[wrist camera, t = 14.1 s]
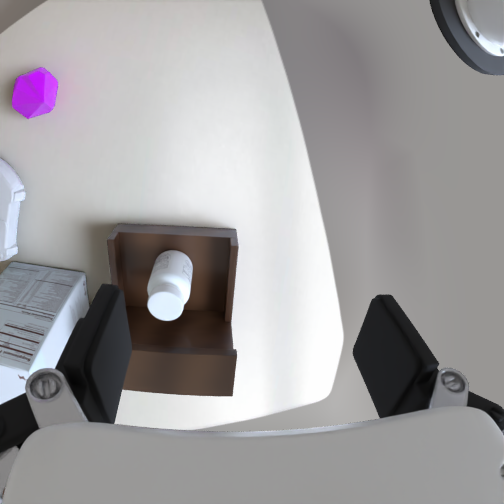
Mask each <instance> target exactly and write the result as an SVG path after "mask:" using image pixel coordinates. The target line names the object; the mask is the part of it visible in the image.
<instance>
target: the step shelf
mask: <svg viewBox="0 0 504 504" xmlns="http://www.w3.org/2000/svg"><path fill="white" fill-rule="evenodd" d="M107 245H108V255H109V264H110V273H111V280H112V285H117V286H118V288H119V289H121V290H123V293H124V300H125V306H126V313H127V319H128V325H129V331H130V337H131V342H132V353H131V357H130V361H129V365H128V368H127V372H126V376H125V380H124V384H123V388H122V389H123V390H132V391H141V392H152V393H164V394H178V395H197V396H233V387H234V378H235V369H236V360H237V351H236V349H233V338H232V326H231V319H232V308H233V298H234V287H235V277H236V267H237V256H238V240H237V232H236V229H221V228H203V227H184V226H163V225H141V224H118V225H117V226H116V227H115V229H114V230H113V232H112V233H111V235H110V236H109V237H108V239H107ZM169 250H176V251H180V252H182V253H184V254H185V255H187V256H188V257H189V259H190V260H191V263H192V266H193V271H192V280H191V288H190V296H189V299H188V301H187V302H186V303H185V304H184V307H183V311H182V314H181V315H180V316H179V317H178V318H176V319H174V320H171V321H164V320H160V319H158V318H156V317H154V316H153V315H152V314H151V313H150V311H149V309H148V306H147V303H148V298H149V295H148V291H147V287H148V283H149V279H150V276H151V273H152V270H153V267H154V264H155V261H156V259H157V257H158V256H159V255H160V254H161V253H163V252H165V251H169Z"/></svg>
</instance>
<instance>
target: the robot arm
mask: <svg viewBox="0 0 504 504" xmlns="http://www.w3.org/2000/svg"><path fill="white" fill-rule="evenodd" d="M455 5H456V8H457V12H458V15H459V17H460V20H461V22H462V24H463V26H464V28H465V29H466V31H467V32H468V34H469V36H470V37H471V38H472V39H473V41H474V42H475V43H476V44H477V45H478V46H479V47H480V48H481V49H482V50H484V51H485V52H486V53H488V54H490V55H494V56H504V0H455ZM131 353H132V342H131V337H130V331H129V325H128V319H127V313H126V306H125V300H124V293H123V290H121V289H119V288H118V286H117V285H109V284H102V285H101V287H100V289H99V290H98V292H97V294H96V296H95V298H94V300H93V302H92V304H91V306H90V308H89V310H88V312H87V314H86V316H85V318H82V317H81V318H79V320H78V321H77V323H76V325H75V327H74V329H73V331H72V333H71V335H70V337H69V339H68V341H67V343H66V345H65V347H64V349H63V352H62V354H61V356H60V358H59V360H58V362H57V365H56V367H55V369H53V368H43V369H39V370H37V371H35V372H33V373H32V374H31V375H30V376H29V378H28V379H27V381H26V385H25V390H26V392H25V393H23V394H21V395H19V396H17V397H15V398H13V399H11V400H8V401H6V402H4V403H2V404H0V504H504V409H502V407H501V406H499V405H498V404H496V403H493V402H491V401H489V400H487V399H485V398H483V397H480V396H478V395H476V394H474V393H472V392H470V391H469V383H468V381H467V379H466V377H465V376H464V375H463V374H462V373H461V372H459V371H457V370H456V369H453V368H444V369H441V370H440V371H439V370H438V369H437V367H438V365H439V363H438V361H437V360H436V358H435V357H434V355H433V354H432V352H431V351H430V349H429V348H428V346H427V345H426V343H425V342H424V340H423V339H422V337H421V336H420V334H419V333H418V331H417V330H416V329H415V327H414V326H413V324H412V323H411V321H410V320H409V319H408V317H407V316H406V314H405V313H404V311H403V310H402V309H401V307H400V306H399V305H398V303H397V302H396V300H395V299H394V298H393V296H392V295H377V296H376V297H375V298H374V299H372V301H371V303H370V306H369V309H368V312H367V314H366V317H365V319H364V322H363V325H362V327H361V330H360V333H359V335H358V338H357V340H356V343H355V345H354V348H353V356H354V359H355V361H356V363H357V366H358V368H359V370H360V372H361V375H362V377H363V379H364V382H365V384H366V386H367V389H368V391H369V393H370V396H371V398H372V400H373V403H374V405H375V407H376V410H377V412H378V415H379V417H380V419H375V420H368V421H363V422H356V423H349V424H342V425H333V426H325V427H316V428H305V429H293V430H278V431H277V430H276V431H247V432H214V431H189V430H173V429H159V428H147V427H137V426H128V425H118V424H114V422H115V418H116V414H117V409H118V405H119V401H120V397H121V392H122V388H123V384H124V380H125V376H126V372H127V368H128V365H129V361H130V357H131ZM5 487H6V488H5ZM4 488H5V492H4V496H3V498H2V494H3V490H4Z"/></svg>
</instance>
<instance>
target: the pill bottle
mask: <svg viewBox="0 0 504 504" xmlns="http://www.w3.org/2000/svg"><path fill="white" fill-rule="evenodd" d="M192 271H193V266H192V263H191V260H190V259H189V257H188V256H187V255H185V254H184V253H182V252H180V251H176V250H169V251H165V252H163V253H161V254H160V255H159V256H158V257H157V259H156V261H155V264H154V267H153V270H152V273H151V276H150V279H149V283H148V287H147V291H148V295H149V298H148V303H147V306H148V309H149V311H150V313H151V314H152V315H153V316H154V317H156V318H158V319H160V320H164V321H171V320H174V319H176V318H178V317H179V316H180V315H181V314H182V311H183V307H184V304H185V303H186V302H187V301H188V299H189V296H190V288H191V280H192Z"/></svg>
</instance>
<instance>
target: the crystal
mask: <svg viewBox="0 0 504 504" xmlns="http://www.w3.org/2000/svg"><path fill="white" fill-rule="evenodd" d="M57 88H58V82H57V80H56V79H55V78H54V77H53V76H52V75H51V74H50V72H48V71H47V70H46V69H45V68H42V67H40V68H37V69H35V70H33V71H30V72H28V73H25V74H23V75H21V76H19V77H18V78H17V79H16V81H15V84H14V90H13V96H12V107H13V108H14V109H15V110H16V111H18V112H19V113H20V114H22V115H23V116H25V117H26V118H27V119H29V118H32V117H36V116H39V115H42V114H45V113H49V112H50V111H51V110H52V109H53V107H54V106H55V100H56V94H57Z"/></svg>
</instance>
